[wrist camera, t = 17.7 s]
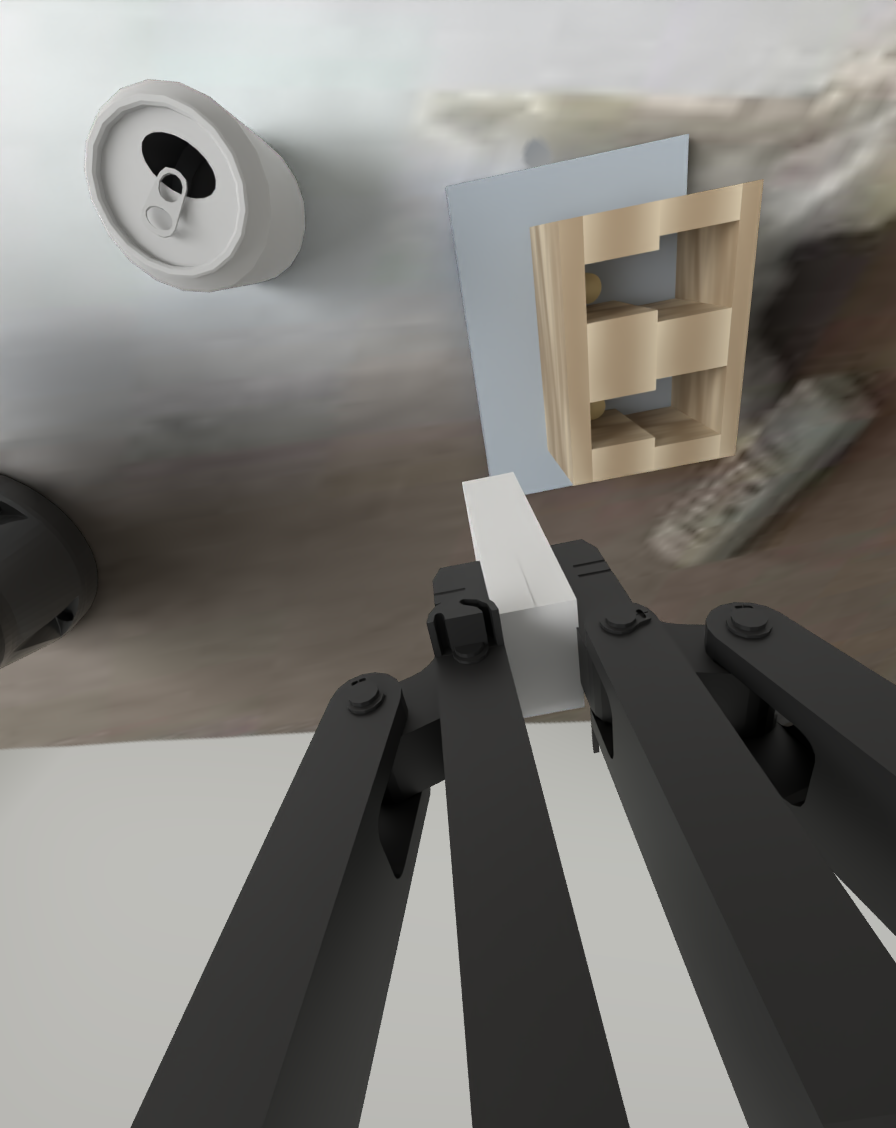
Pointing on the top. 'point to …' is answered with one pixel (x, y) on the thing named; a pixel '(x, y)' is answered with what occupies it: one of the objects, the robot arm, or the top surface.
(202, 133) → the can
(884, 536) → the top surface
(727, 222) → the wooden cubby shelf
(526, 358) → the panel
